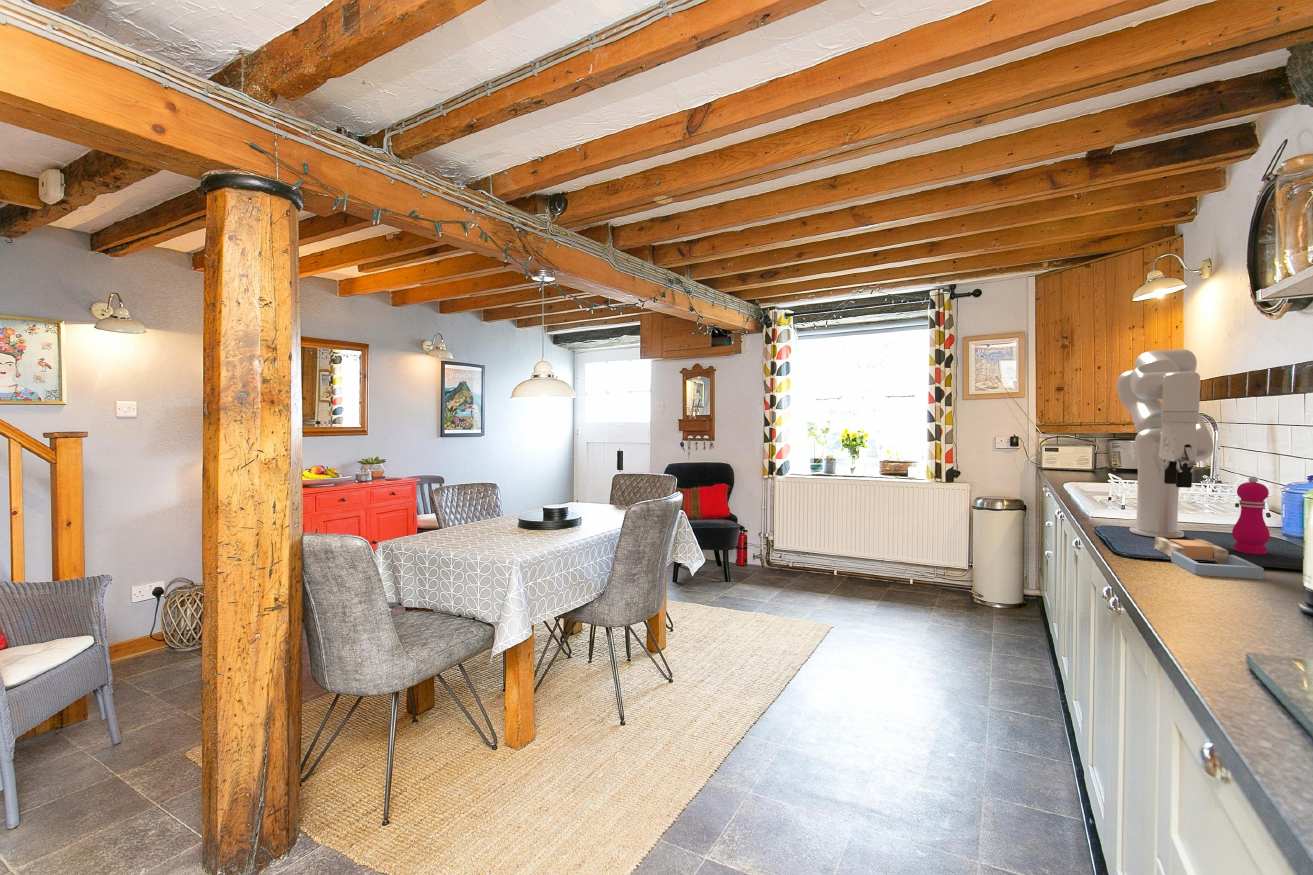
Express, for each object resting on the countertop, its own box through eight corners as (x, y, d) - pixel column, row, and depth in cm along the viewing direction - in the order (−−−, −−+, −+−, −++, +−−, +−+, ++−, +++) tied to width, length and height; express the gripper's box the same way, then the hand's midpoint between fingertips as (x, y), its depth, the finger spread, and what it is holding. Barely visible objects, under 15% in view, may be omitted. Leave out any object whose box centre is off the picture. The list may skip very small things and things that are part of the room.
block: (1169, 554, 161) (1169, 539, 160) (1196, 555, 159) (1197, 540, 159) (1183, 561, 154) (1184, 545, 154) (1212, 562, 152) (1213, 546, 152)
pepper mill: (1252, 548, 164) (1256, 474, 163) (1277, 555, 157) (1281, 478, 156) (1223, 548, 165) (1226, 474, 164) (1246, 554, 158) (1250, 478, 157)
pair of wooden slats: (1154, 549, 165) (1154, 536, 165) (1201, 552, 161) (1201, 539, 161) (1176, 561, 153) (1177, 547, 152) (1227, 564, 149) (1228, 550, 149)
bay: (1171, 561, 153) (1171, 551, 153) (1233, 565, 149) (1234, 555, 149) (1194, 574, 142) (1195, 564, 141) (1263, 579, 137) (1263, 568, 137)
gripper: (1149, 417, 172) (1147, 480, 173) (1177, 419, 155) (1175, 489, 157) (1182, 417, 169) (1179, 481, 170) (1214, 419, 153) (1211, 490, 154)
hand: (1177, 484), depth 163 cm, fingers open, 6 cm apart
